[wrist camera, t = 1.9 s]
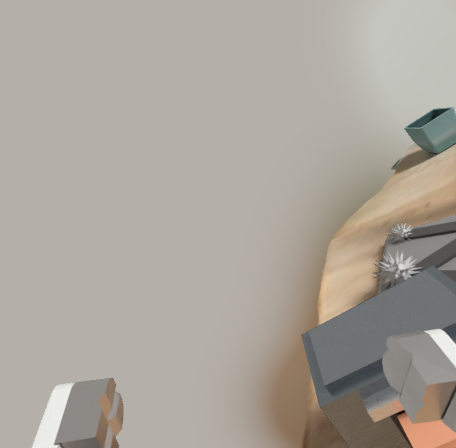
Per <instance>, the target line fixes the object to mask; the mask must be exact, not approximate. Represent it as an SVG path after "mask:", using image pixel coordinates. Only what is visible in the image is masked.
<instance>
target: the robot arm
mask: <svg viewBox="0 0 456 448" xmlns="http://www.w3.org/2000/svg"><path fill="white" fill-rule="evenodd" d="M386 345H387V347H388V349H389V350H387V351H386V352H385V353H384V354H383V359H382V365H383V371H384V373H385V376H386V379H387V380H388V382H389V384H390V386H391V387H392V388H394V389H395V390H397V391H398V392H400V399H399V401H400V403H401V405H402V407H403V408H404V410H405V412H406V413H407V415H408V417H409V419H410V420H411V422H412V424H416V423H424V422H431V421H439V420H442V422H443V423H444V424H445V425H446V426H448V427H449V428H450V429H451V430H453V431H454V432H455V433H456V344H455V343H454V342H453V341H452V339H451V338H450V337H449V336H448V335H447V334H446V333H445V332H444V331H443V330H441V329H434V330H428V331H418V332H412V333H406V334H400V335H394V336H390V337H389V338H388V339H387V342H386ZM115 388H116V384H115V381H114V379H113V378H106V379H99V380H91V381H83V382H75V383H68V384H61V385H57V386H56V387H55V389H54V390H53V391H52V394H51V396H50V399H49V402H48V404H47V407H46V410H45V413H44V415H43V418H42V421H41V424H40V426H39V429H38V432H37V435H36V437H35V440H34V443H33V445H32V448H119V445H118V442H117V440H116V438H115V437H116V436H117V434H118V433H119V432H120V430H121V429H122V424H123V401H122V398H121V395H120V394H119V393H117V392H115Z"/></svg>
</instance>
